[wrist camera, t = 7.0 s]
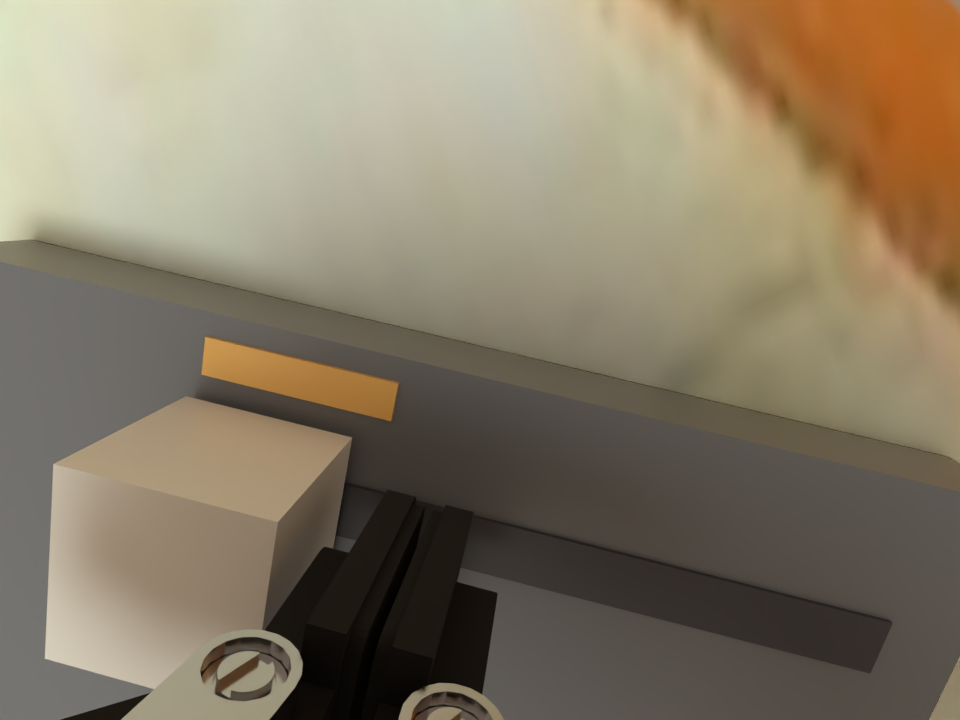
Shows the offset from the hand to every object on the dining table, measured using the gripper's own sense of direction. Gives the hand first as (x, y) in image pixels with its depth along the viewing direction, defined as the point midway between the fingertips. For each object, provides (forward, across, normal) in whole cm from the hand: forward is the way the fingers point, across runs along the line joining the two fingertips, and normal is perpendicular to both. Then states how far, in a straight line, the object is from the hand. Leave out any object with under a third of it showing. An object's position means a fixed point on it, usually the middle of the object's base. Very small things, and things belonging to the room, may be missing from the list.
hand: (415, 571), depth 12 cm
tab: (+1, +4, 0) cm, 4 cm away
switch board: (+4, 0, +4) cm, 6 cm away
